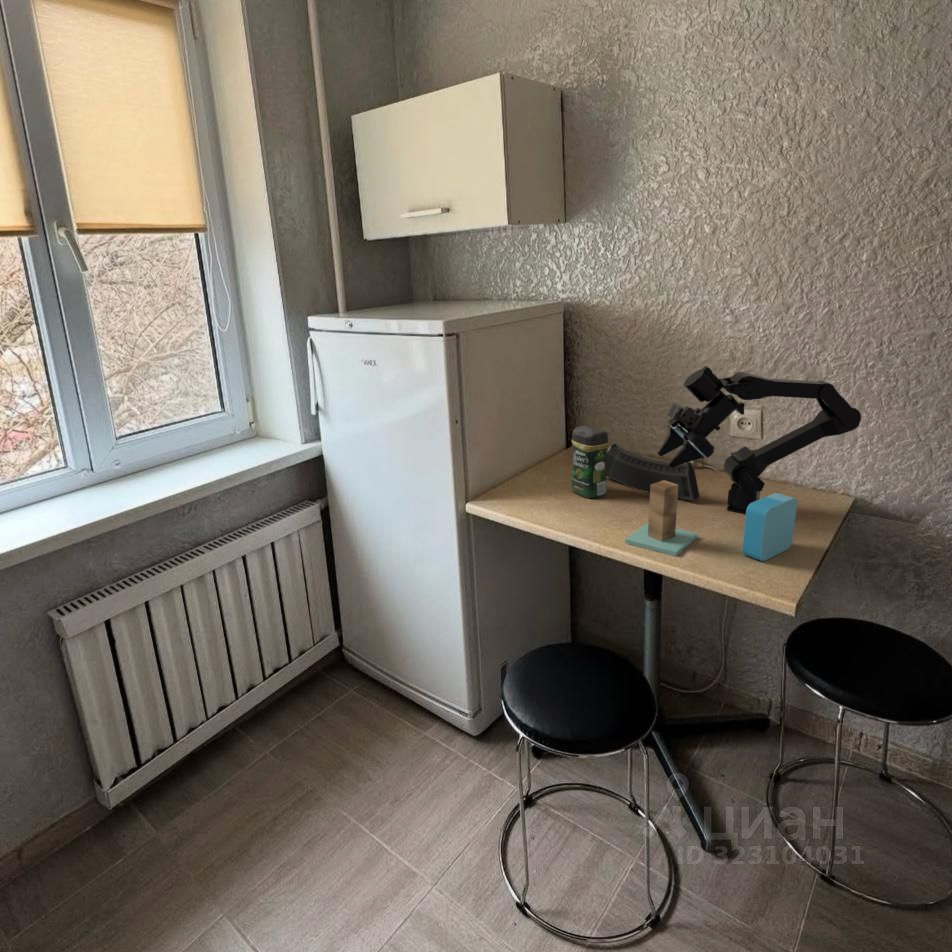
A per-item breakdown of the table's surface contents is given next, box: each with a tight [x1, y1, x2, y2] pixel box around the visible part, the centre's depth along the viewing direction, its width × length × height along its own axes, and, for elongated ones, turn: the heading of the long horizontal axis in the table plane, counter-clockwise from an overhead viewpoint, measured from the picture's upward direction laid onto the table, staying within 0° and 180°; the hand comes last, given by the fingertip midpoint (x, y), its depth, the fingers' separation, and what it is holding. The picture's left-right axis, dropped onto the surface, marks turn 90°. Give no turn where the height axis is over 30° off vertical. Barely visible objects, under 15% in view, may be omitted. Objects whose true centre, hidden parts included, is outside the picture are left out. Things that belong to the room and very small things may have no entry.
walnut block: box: [647, 480, 679, 542], centre depth 147 cm, size 4×4×12 cm
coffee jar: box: [570, 424, 609, 499], centre depth 177 cm, size 10×8×19 cm
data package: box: [741, 492, 798, 562], centre depth 140 cm, size 12×4×12 cm, turn 125°
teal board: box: [624, 521, 698, 557], centre depth 150 cm, size 12×12×1 cm
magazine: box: [606, 443, 700, 501], centre depth 179 cm, size 17×3×30 cm
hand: (664, 460), depth 161 cm, fingers open, 9 cm apart
